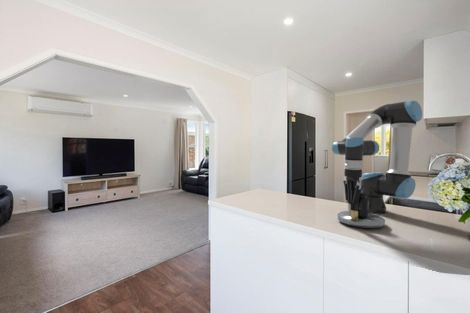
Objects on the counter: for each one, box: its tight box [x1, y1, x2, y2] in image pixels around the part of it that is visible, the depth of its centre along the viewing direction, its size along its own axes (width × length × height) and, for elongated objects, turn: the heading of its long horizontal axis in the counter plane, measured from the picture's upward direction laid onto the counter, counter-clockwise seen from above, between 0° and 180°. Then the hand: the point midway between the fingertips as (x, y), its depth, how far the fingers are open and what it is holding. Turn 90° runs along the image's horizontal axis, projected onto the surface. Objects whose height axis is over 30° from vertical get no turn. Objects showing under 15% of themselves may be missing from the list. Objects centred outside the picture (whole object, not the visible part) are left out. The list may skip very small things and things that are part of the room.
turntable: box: [337, 210, 386, 229], centre depth 114 cm, size 21×21×7 cm
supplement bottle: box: [355, 192, 369, 218], centre depth 114 cm, size 7×7×12 cm
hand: (351, 216), depth 110 cm, fingers closed
